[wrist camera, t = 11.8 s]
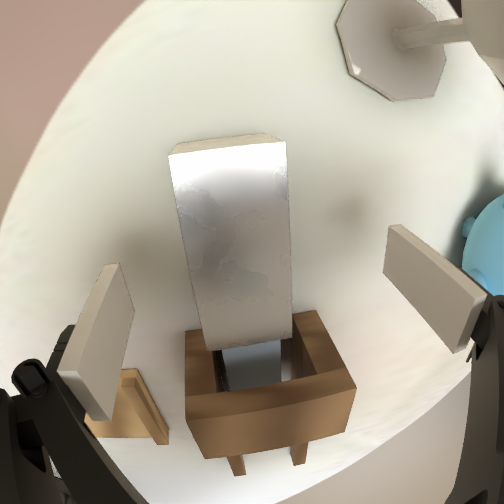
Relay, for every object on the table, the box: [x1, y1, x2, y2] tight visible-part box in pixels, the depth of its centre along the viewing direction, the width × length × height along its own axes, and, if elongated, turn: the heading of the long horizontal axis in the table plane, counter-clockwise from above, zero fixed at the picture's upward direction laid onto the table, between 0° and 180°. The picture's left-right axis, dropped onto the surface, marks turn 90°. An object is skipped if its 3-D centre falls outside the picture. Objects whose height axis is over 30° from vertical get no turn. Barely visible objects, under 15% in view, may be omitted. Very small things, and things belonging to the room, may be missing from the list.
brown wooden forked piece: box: [185, 310, 357, 476], centre depth 25 cm, size 10×24×8 cm, turn 5°
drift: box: [222, 340, 281, 391], centre depth 23 cm, size 12×4×4 cm, turn 4°
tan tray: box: [84, 369, 169, 445], centre depth 24 cm, size 10×10×2 cm
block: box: [169, 133, 292, 351], centre depth 17 cm, size 11×5×5 cm, turn 5°
